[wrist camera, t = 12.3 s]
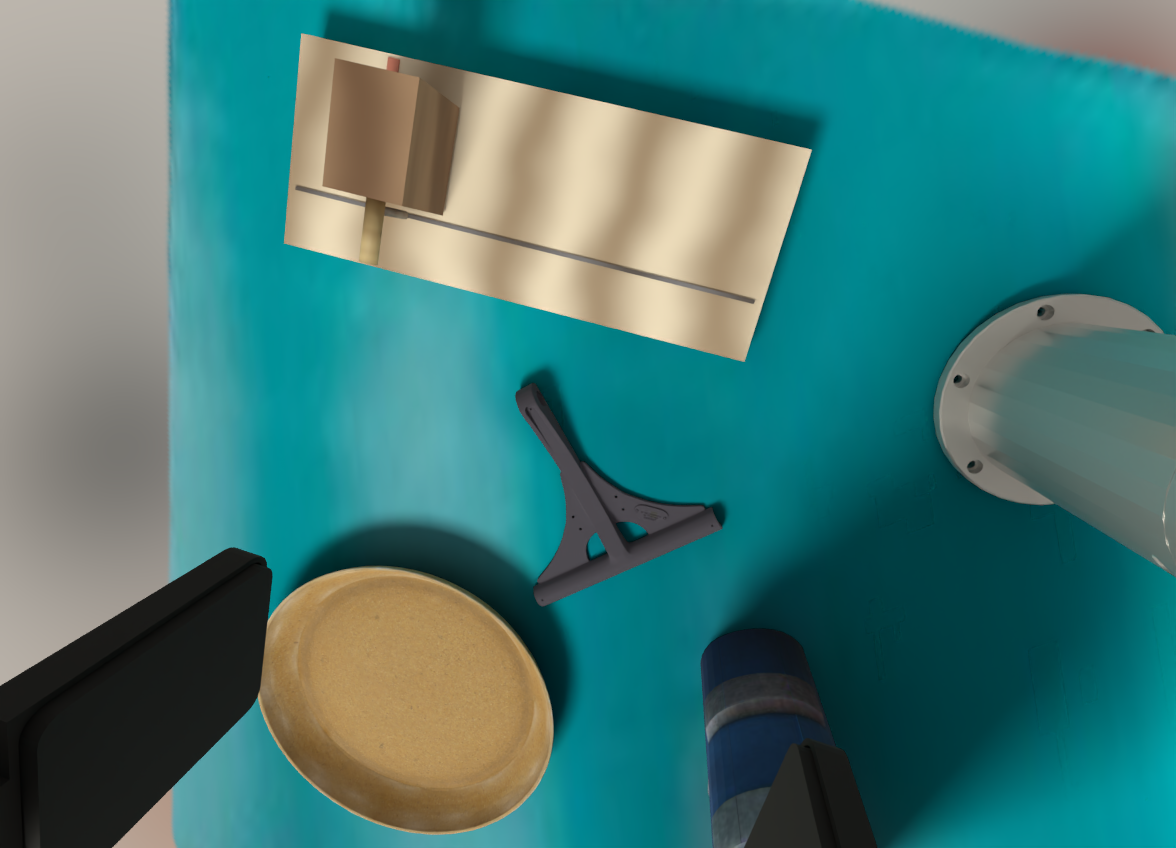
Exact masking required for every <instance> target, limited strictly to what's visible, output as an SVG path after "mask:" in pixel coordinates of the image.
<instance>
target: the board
mask: <svg viewBox="0 0 1176 848" xmlns="http://www.w3.org/2000/svg"><path fill="white" fill-rule="evenodd" d="M335 58H337V59H342V60H346V61H350V62H355V63H359V64H363V65H368V66H372V67H376V68H381V69H385V70H389V71H394V72H398V73H403V74H407V75H411V76H416V77H420V78H421V79H422V80H424V81H425V82H426V83H428V84H429V85H430V86H431V87H433V88H434V89H435V90H437V91H438V92H439V93H441V94H442V95H443V96H445V97H446V98H447V99H449V100H450V101H451V102H453V103H454V104H455V105H457V106H458V107H459V108H460V109H459V116H458V122H457V128H456V135H455V141H454V148H453V154H452V160H451V167H450V173H449V180H448V186H447V193H446V199H445V205H444V212H443V216H442V215H438V214H433V213H429V212H425V211H421V210H417V209H412V208H408V207H404V206H400V205H396V204H392V203H388V202H386V205H385V207H390V208H394V209H399V210H404V211H406V212H407V213H408V218H407V219H405V220H404V219H399V218H394V217H388V216H384V221H383V228H382V236H381V244H380V252H379V259H378V265H371V264H367V265H370V266H374V267H378V268H382V269H386V270H390V271H394V272H398V273H401V274H405V275H409V276H413V277H417V278H421V279H425V280H429V281H433V282H436V283H440V284H444V285H448V286H452V287H456V288H460V289H464V290H468V291H471V292H475V293H479V294H483V295H487V296H491V297H495V298H499V299H502V300H506V301H510V302H514V303H518V304H522V305H526V306H530V307H534V308H537V309H541V310H545V311H549V312H553V313H557V314H561V315H565V316H569V317H572V318H576V319H580V320H584V321H588V322H592V323H596V324H600V325H603V326H607V327H611V328H615V329H619V330H623V331H627V332H631V333H635V334H638V335H642V336H646V337H650V338H654V339H658V340H662V341H666V342H669V343H673V344H677V345H681V346H685V347H689V348H693V349H697V350H701V351H704V352H708V353H712V354H716V355H720V356H724V357H728V358H732V359H736V360H739V361H743V362H744V361H745V358H746V355H747V352H748V349H749V346H750V343H751V339H752V336H753V333H754V330H755V327H756V324H757V321H758V317H759V314H760V311H761V308H762V305H763V302H764V299H765V295H766V292H767V289H768V286H769V283H770V280H771V277H772V274H773V270H774V267H775V264H776V261H777V258H778V255H779V252H780V248H781V245H782V242H783V239H784V236H785V233H786V230H787V226H788V223H789V220H790V217H791V214H792V211H793V208H794V204H795V201H796V198H797V195H798V192H799V189H800V186H801V182H802V179H803V176H804V173H805V170H806V167H807V164H808V160H809V157H810V154H811V151H812V150H811V149H807V148H802V147H798V146H794V145H789V144H785V143H780V142H776V141H772V140H767V139H763V138H759V137H754V136H750V135H745V134H741V133H737V132H732V131H728V130H723V129H719V128H715V127H710V126H706V125H701V124H697V123H693V122H688V121H684V120H679V119H675V118H671V117H666V116H662V115H658V114H653V113H649V112H644V111H640V110H636V109H631V108H627V107H622V106H618V105H614V104H609V103H605V102H600V101H596V100H592V99H587V98H583V97H579V96H574V95H570V94H565V93H561V92H557V91H552V90H548V89H543V88H539V87H535V86H530V85H526V84H521V83H517V82H513V81H508V80H504V79H500V78H495V77H491V76H486V75H482V74H478V73H473V72H469V71H464V70H460V69H456V68H451V67H447V66H442V65H438V64H434V63H429V62H425V61H421V60H416V59H412V58H407V57H403V56H399V55H394V54H390V53H385V52H381V51H377V50H372V49H368V48H363V47H359V46H355V45H350V44H346V43H342V42H337V41H333V40H328V39H324V38H320V37H315V36H311V35H306V34H302V33H301V45H300V57H299V69H298V81H297V93H296V106H295V118H294V130H293V142H292V154H291V166H290V178H289V190H288V202H287V214H286V226H285V238H284V243H285V244H289V245H293V246H297V247H300V248H304V249H308V250H312V251H316V252H320V253H324V254H328V255H332V256H335V257H339V258H343V259H347V260H351V261H355V262H359V255H360V246H361V238H362V229H363V221H364V213H365V204H366V197H363V196H359V195H355V194H351V193H347V192H343V191H339V190H335V189H331V188H327V187H323V186H322V184H323V174H324V163H325V153H326V143H327V133H328V123H329V112H330V102H331V92H332V82H333V72H334V62H335ZM359 263H362V262H359ZM363 264H366V263H363Z"/></svg>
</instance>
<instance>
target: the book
mask: <svg viewBox="0 0 1176 848" xmlns="http://www.w3.org/2000/svg"><path fill="white" fill-rule="evenodd" d="M701 676H702V691H703V706H704V722H705V737H706V752H707V767H708V794H709V797H710V812H711V828H712V843H713V848H744V846H745V844H746V842H747V840H748V837H749V835H750V833H751V831H752V829H753V826H754V824H755V822H756V820H757V817H758V815H759V813H760V811H761V809H762V806H763V804H764V802H765V800H766V797H767V795H768V793H769V791H770V789H771V786H772V784H773V782H774V780H775V777H776V775H777V773H778V771H779V769H780V766H781V764H782V762H783V760H784V757H785V755H786V753H787V751H788V749H789V747H790V745H791V744H793V743H795V744H798V745H801V743H802V742H803V740H805V739H806V738H810V739H813V740H816V741H819V742H822V743H825V744H828V745H831V746H834V747H836V745H835V742H834V739H833V736H832V733H831V730H830V727H829V724H828V721H827V718H826V716H825V713H824V710H823V707H822V704H821V701H820V698H819V695H818V692H817V689H816V686H815V683H814V680H813V677H812V674H811V671H810V668H809V665H808V662H807V659H806V656H805V654H804V651H803V648H802V647H801V645H800V644H799V643H798V641H796V640H795V639H794V638H792V637H791V636H789V635H787V634H785V633H783V632H781V631H777V630H772V629H746V630H740V631H736V632H732V633H729V634H726V635H724V636H722V637H719V638H718V639H716V640H714V641H713V642H711V643H710V645H709V646H708V647H707V648H706V649H705V651H704V653H703V655H702V659H701Z"/></svg>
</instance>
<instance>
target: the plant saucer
mask: <svg viewBox="0 0 1176 848" xmlns="http://www.w3.org/2000/svg"><path fill="white" fill-rule="evenodd" d="M258 700H259V704H260V707H261V711H262V714H263V716H264V719H265V721H266V724H267V726H268V728H269V730H270V732H271V734H272V736H273V738H274V740H275V741H276V743H277V744H278V746H279V747H280V749H281V750H282V752H283V753H284V755H285V756H286V757H287V759H288V760H289V761H290V763H291V764H292V765H293V766H294V767H295V768H296V770H297V771H298V772H299V773H300V774H301V775H302V776H303V777H304V778H305V779H306V780H307V781H308V782H310V783H311V784H312V785H313V786H314V787H315V788H316V789H317V790H319V791H320V792H321V793H323V794H324V795H325V796H327V797H328V798H329V799H331V800H332V801H334V802H335V803H337V804H338V805H340V806H342V807H343V808H345V809H347V810H348V811H350V812H352V813H354V814H356V815H358V816H360V817H362V818H364V819H367V820H369V821H371V822H374V823H377V824H380V825H383V826H386V827H389V828H393V829H396V830H401V831H406V832H412V833H423V834H437V835H439V834H454V833H461V832H466V831H472V830H475V829H478V828H482V827H485V826H487V825H489V824H492V823H494V822H496V821H498V820H500V819H502V818H504V817H505V816H507V815H509V814H510V813H512V812H513V811H514V810H516V809H517V808H518V807H519V806H520V805H521V804H522V803H523V802H524V801H525V800H526V799H527V798H528V797H529V796H530V795H531V794H532V793H533V791H534V790H535V788H536V787H537V786H538V784H539V782H540V781H541V779H542V777H543V775H544V773H545V771H546V768H547V766H548V763H549V759H550V755H551V751H552V745H553V735H554V724H553V713H552V707H551V703H550V698H549V694H548V691H547V687H546V684H545V681H544V679H543V676H542V674H541V671H540V669H539V667H538V665H537V663H536V661H535V659H534V657H533V656H532V654H531V652H530V651H529V649H528V647H527V646H526V645H525V643H524V642H523V640H522V639H521V638H520V636H519V635H518V634H517V633H516V631H515V630H514V629H513V628H512V627H511V626H510V625H509V623H508V622H507V621H506V620H505V619H504V618H503V617H501V616H500V615H499V614H498V613H497V612H496V611H495V610H494V609H493V608H491V607H490V606H489V605H488V604H486V603H485V602H484V601H482V600H481V599H479V598H478V597H477V596H475V595H474V594H472V593H470V592H469V591H467V590H465V589H463V588H461V587H459V586H458V585H456V584H454V583H451V582H449V581H447V580H444V579H442V578H439V577H437V576H434V575H431V574H428V573H424V572H420V571H417V570H413V569H407V568H401V567H392V566H363V567H354V568H349V569H344V570H340V571H336V572H332V573H329V574H326V575H323V576H320V577H318V578H315V579H313V580H311V581H310V582H308V583H306V584H304V585H302V586H301V587H299V588H298V589H296V590H295V591H294V592H292V593H291V594H290V595H289V596H288V597H287V598H285V599H284V600H283V601H282V602H281V603H280V605H279V606H278V607H277V608H276V610H275V611H274V612H273V614H272V615H271V617H270V618H269V620H268V622H267V631H266V640H265V649H264V659H263V668H262V677H261V687H260V691H259V694H258Z"/></svg>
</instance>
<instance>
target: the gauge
mask: <svg viewBox="0 0 1176 848" xmlns="http://www.w3.org/2000/svg"><path fill="white" fill-rule="evenodd" d="M459 109H460V108H459V107H458V106H457V105H455V104H454V103H453V102H451V101H450V100H449V99H447V98H446V97H445V96H443V95H442V94H441V93H439V92H438V91H437V90H435V89H434V88H433V87H431V86H430V85H429V84H428V83H426V82H425V81H424V80H422V79H421V78H420V77H416V76H411V75H407V74H403V73H398V72H394V71H389V70H385V69H381V68H376V67H372V66H368V65H363V64H359V63H355V62H350V61H346V60H342V59H337V58H335V62H334V72H333V82H332V92H331V102H330V112H329V123H328V133H327V143H326V153H325V163H324V174H323V184H322V186H323V187H327V188H331V189H335V190H339V191H343V192H347V193H351V194H355V195H359V196H363V197H366V204H365V213H364V221H363V229H362V238H361V246H360V255H359V262H362V263H366V264H371V265H378V259H379V252H380V244H381V236H382V228H383V221H384V216H388V217H394V218H399V219H404V220H405V219H407V218H408V213H407V212H406V211H404V210H399V209H394V208H390V207H385V205H386V202H388V203H392V204H396V205H400V206H404V207H408V208H412V209H417V210H421V211H425V212H429V213H433V214H438V215H442V216H443V212H444V205H445V199H446V193H447V186H448V180H449V173H450V167H451V160H452V154H453V148H454V141H455V135H456V128H457V122H458V116H459Z"/></svg>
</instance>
